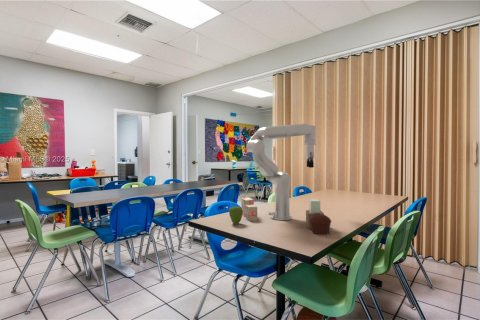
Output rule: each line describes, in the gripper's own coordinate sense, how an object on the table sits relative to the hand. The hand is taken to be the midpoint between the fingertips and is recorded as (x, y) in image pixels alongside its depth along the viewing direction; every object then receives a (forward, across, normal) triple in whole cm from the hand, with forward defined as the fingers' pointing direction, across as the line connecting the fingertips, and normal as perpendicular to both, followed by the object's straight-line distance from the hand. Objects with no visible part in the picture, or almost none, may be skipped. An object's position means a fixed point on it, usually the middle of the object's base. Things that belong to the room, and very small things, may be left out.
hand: (310, 167), depth 191 cm
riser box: (+34, +30, -2) cm, 46 cm away
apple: (+34, +26, -50) cm, 66 cm away
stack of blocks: (+35, +7, -43) cm, 56 cm away
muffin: (+35, +42, -1) cm, 54 cm away
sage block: (+25, +30, -2) cm, 39 cm away
